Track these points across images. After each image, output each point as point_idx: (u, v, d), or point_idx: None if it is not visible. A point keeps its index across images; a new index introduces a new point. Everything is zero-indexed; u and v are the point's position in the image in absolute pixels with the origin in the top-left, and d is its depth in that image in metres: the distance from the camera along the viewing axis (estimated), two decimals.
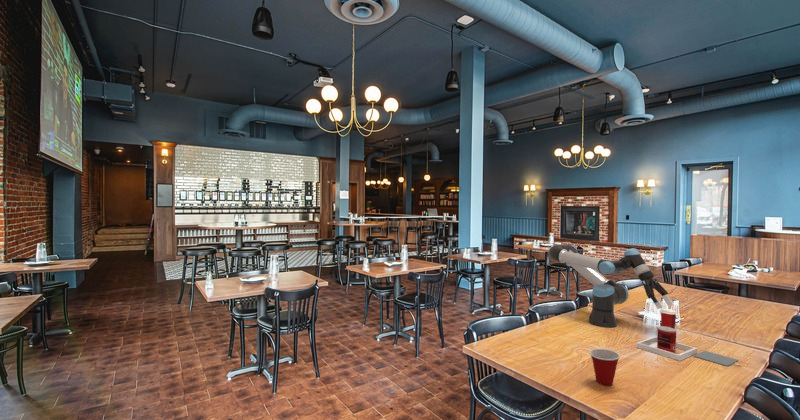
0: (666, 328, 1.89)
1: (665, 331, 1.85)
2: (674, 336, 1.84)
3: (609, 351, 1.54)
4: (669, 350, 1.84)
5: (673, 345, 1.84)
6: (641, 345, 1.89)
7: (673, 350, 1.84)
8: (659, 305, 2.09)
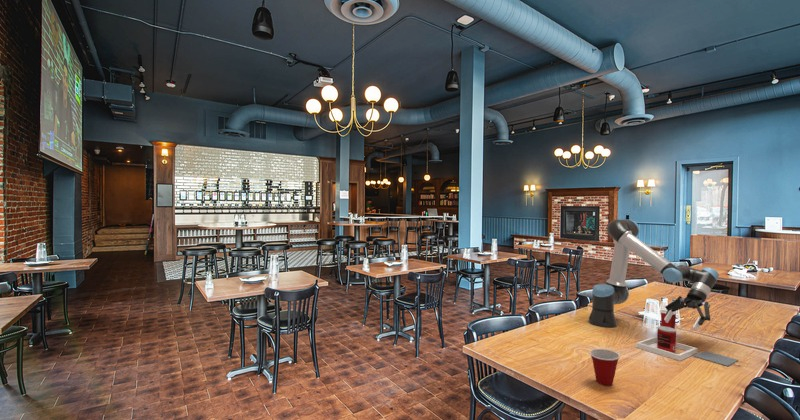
0: (666, 328, 1.89)
1: (665, 331, 1.85)
2: (674, 336, 1.84)
3: (609, 351, 1.54)
4: (669, 350, 1.84)
5: (673, 345, 1.84)
6: (641, 345, 1.89)
7: (673, 350, 1.84)
8: (697, 327, 1.84)
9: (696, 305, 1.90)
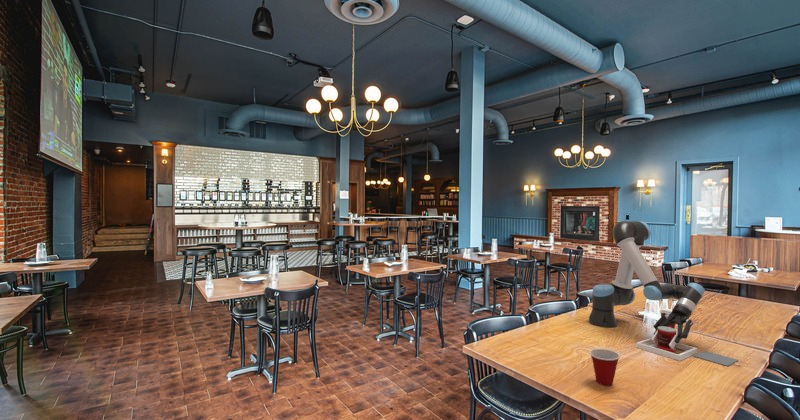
0: (666, 328, 1.89)
1: (665, 331, 1.85)
2: None
3: (609, 351, 1.54)
4: (669, 350, 1.84)
5: None
6: (641, 345, 1.89)
7: (673, 350, 1.84)
8: (673, 345, 1.83)
9: (678, 322, 1.87)
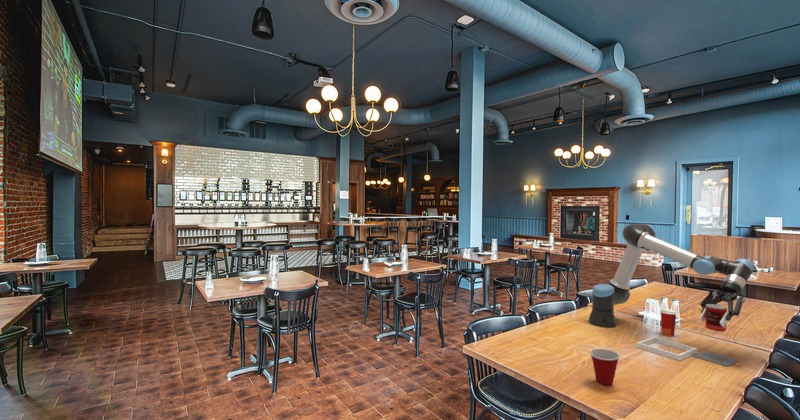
0: (715, 305, 1.79)
1: (715, 308, 1.75)
2: None
3: (609, 351, 1.54)
4: (719, 328, 1.74)
5: None
6: (641, 345, 1.89)
7: (724, 328, 1.74)
8: (724, 323, 1.73)
9: (728, 299, 1.78)
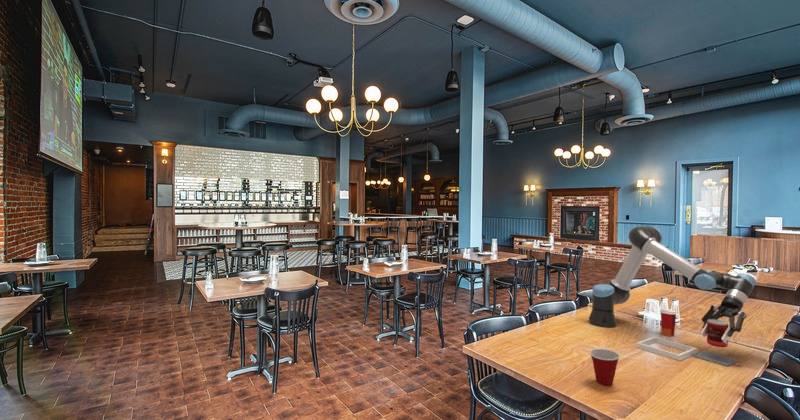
0: (716, 321, 1.79)
1: (717, 324, 1.75)
2: None
3: (609, 351, 1.54)
4: (721, 344, 1.74)
5: None
6: (641, 345, 1.89)
7: (725, 344, 1.74)
8: (726, 339, 1.73)
9: (730, 314, 1.77)
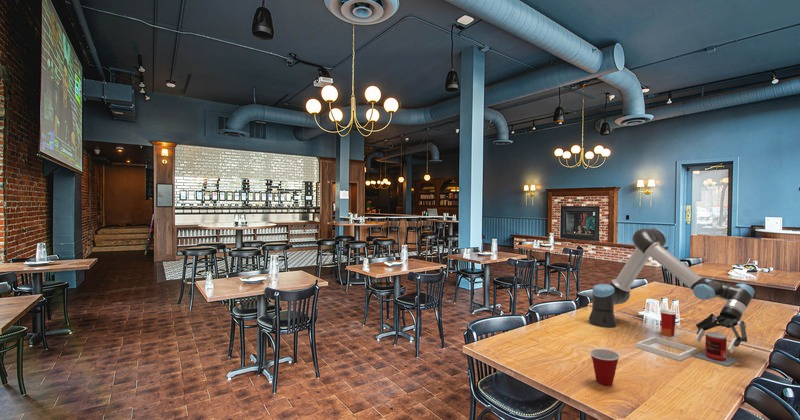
0: (715, 334, 1.79)
1: (715, 337, 1.75)
2: (725, 343, 1.75)
3: (609, 351, 1.54)
4: (719, 357, 1.75)
5: (724, 352, 1.75)
6: (641, 345, 1.89)
7: (724, 357, 1.75)
8: (732, 349, 1.71)
9: (731, 324, 1.77)
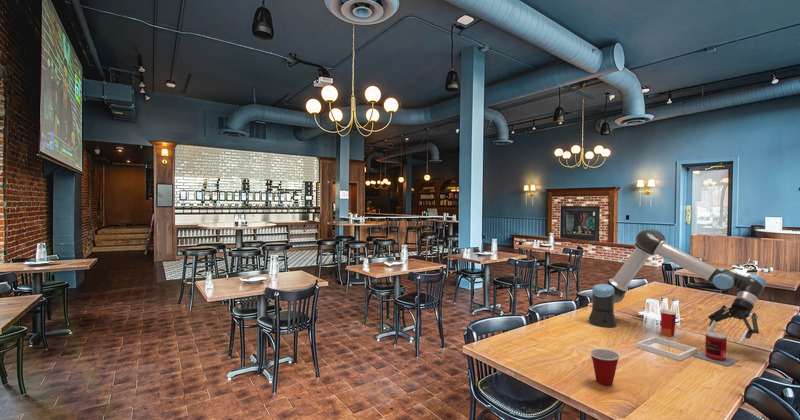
0: (715, 334, 1.79)
1: (715, 337, 1.75)
2: (725, 343, 1.75)
3: (609, 351, 1.54)
4: (719, 357, 1.75)
5: (724, 352, 1.75)
6: (641, 345, 1.89)
7: (724, 357, 1.75)
8: (744, 341, 1.78)
9: (743, 316, 1.83)
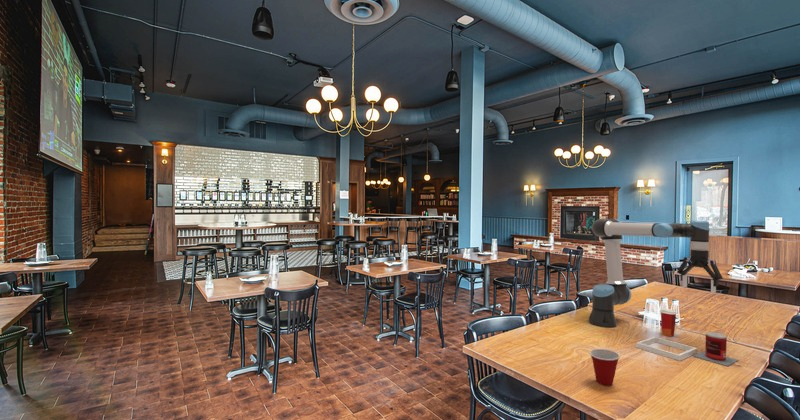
0: (715, 334, 1.79)
1: (715, 337, 1.75)
2: (725, 343, 1.75)
3: (609, 351, 1.54)
4: (719, 357, 1.75)
5: (724, 352, 1.75)
6: (641, 345, 1.89)
7: (724, 357, 1.75)
8: (714, 290, 1.91)
9: (704, 267, 1.94)
